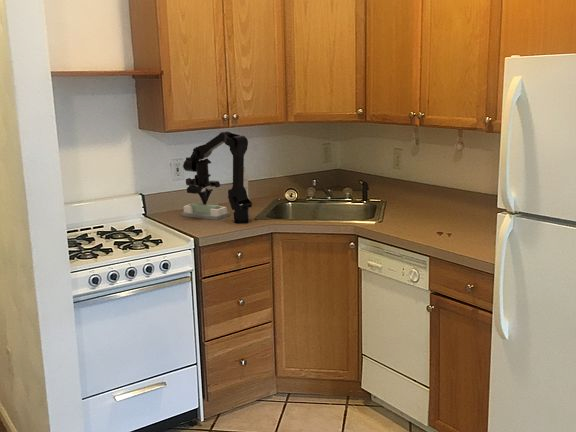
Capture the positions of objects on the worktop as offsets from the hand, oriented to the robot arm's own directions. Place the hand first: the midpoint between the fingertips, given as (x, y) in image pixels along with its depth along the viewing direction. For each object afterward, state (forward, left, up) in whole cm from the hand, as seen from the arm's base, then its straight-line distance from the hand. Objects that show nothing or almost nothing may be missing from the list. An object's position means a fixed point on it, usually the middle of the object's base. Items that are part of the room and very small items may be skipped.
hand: (204, 204), depth 319 cm
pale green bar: (0, 0, -4) cm, 4 cm away
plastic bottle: (-15, -19, -6) cm, 25 cm away
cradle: (0, 0, -6) cm, 6 cm away
